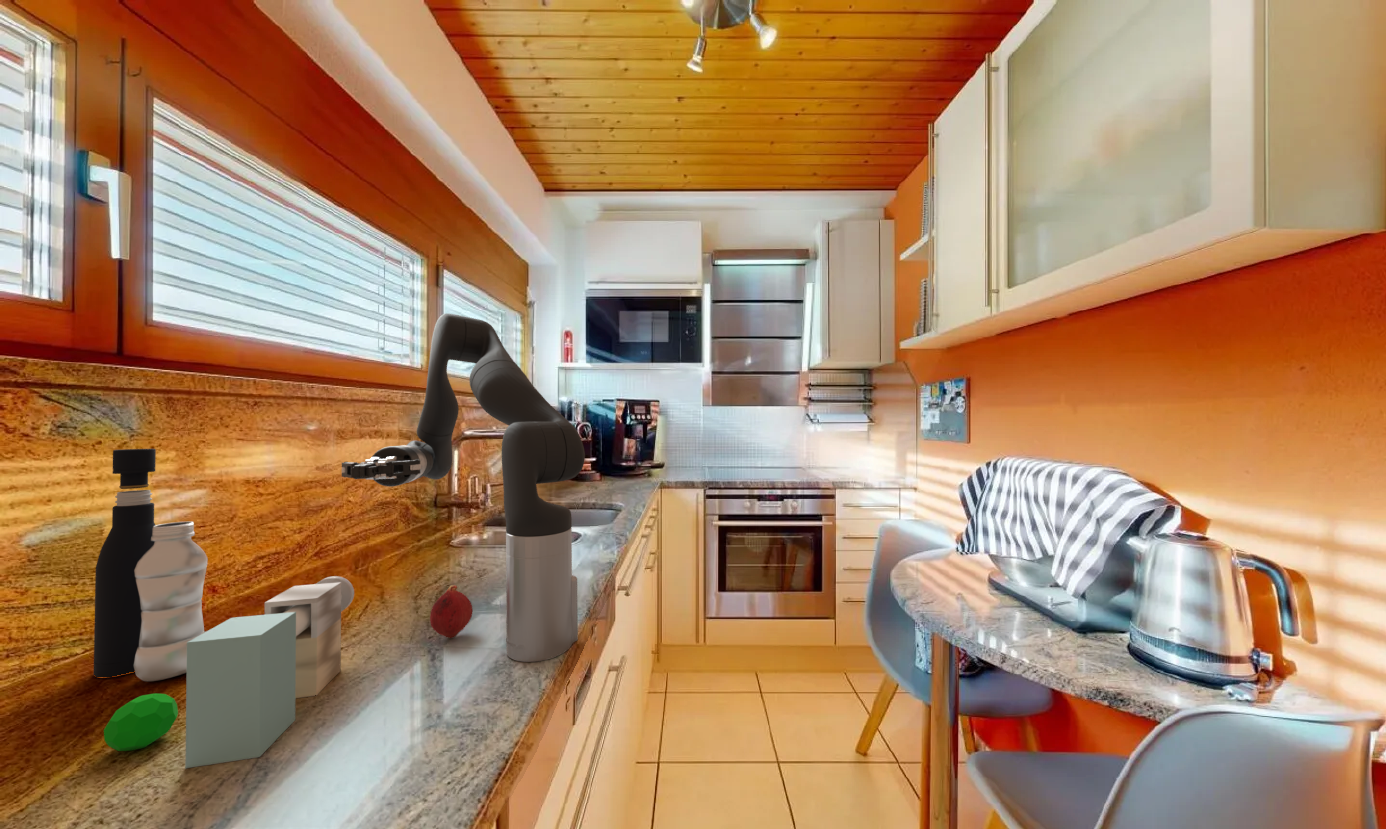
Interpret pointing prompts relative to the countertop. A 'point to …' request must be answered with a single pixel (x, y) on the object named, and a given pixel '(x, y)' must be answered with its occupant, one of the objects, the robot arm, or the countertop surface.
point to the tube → (305, 609)
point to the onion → (451, 613)
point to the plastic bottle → (169, 601)
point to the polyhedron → (140, 722)
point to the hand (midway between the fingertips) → (359, 472)
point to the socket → (240, 688)
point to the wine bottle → (123, 566)
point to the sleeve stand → (314, 634)
